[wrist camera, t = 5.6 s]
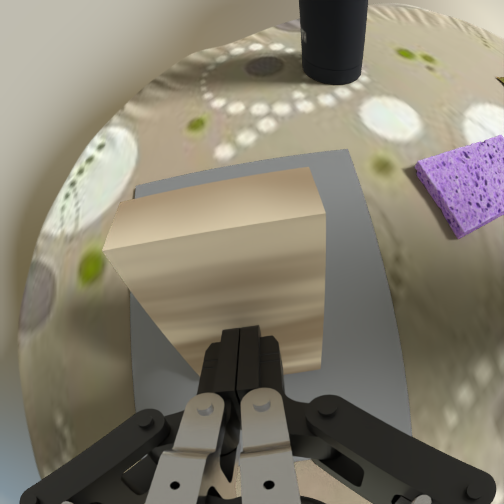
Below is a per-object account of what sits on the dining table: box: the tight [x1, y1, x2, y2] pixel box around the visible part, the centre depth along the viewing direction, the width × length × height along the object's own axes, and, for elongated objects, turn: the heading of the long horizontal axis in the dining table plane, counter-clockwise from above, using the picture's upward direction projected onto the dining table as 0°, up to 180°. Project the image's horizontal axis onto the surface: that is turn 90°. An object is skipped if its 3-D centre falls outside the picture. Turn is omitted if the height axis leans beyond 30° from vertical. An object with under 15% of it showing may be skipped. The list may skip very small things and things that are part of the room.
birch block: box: [102, 167, 326, 376], centre depth 14 cm, size 3×7×12 cm, turn 97°
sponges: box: [415, 135, 504, 239], centre depth 22 cm, size 7×13×2 cm, turn 110°
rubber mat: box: [130, 149, 412, 466], centre depth 21 cm, size 22×18×1 cm
